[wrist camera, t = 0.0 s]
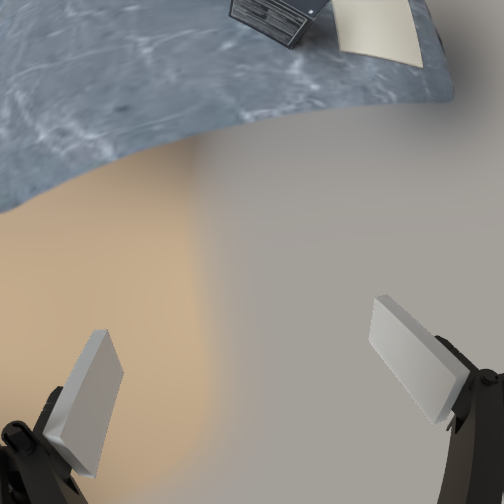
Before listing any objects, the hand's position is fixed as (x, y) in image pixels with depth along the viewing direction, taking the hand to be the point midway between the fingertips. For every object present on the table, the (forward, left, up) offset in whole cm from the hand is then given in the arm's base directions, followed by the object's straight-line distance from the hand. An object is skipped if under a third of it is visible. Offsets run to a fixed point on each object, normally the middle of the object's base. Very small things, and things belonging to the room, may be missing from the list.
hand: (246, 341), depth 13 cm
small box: (-29, +9, -28) cm, 42 cm away
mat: (-32, +27, -28) cm, 50 cm away
